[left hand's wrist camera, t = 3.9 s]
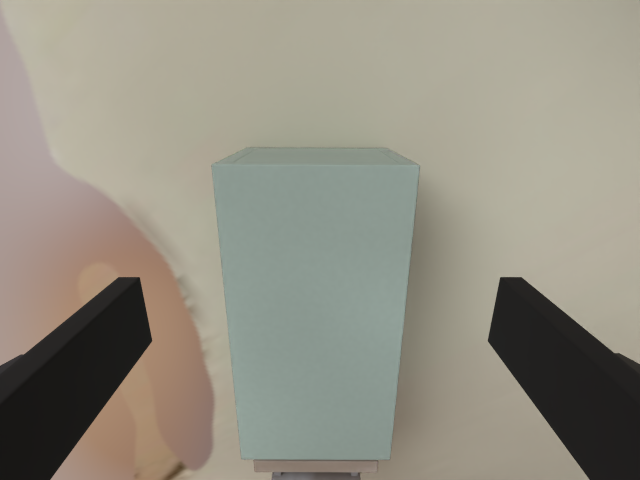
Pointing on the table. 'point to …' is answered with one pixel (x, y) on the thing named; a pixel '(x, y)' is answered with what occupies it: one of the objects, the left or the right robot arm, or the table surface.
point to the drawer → (315, 469)
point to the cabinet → (315, 296)
